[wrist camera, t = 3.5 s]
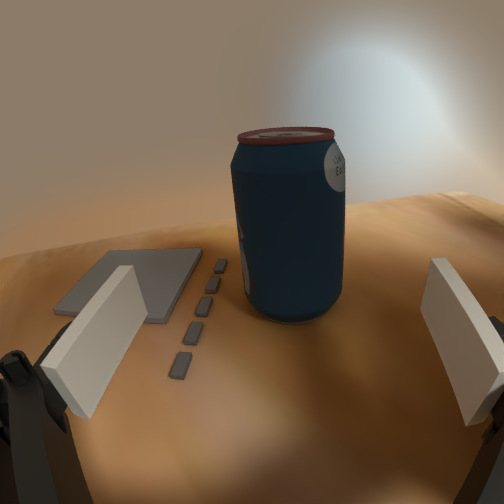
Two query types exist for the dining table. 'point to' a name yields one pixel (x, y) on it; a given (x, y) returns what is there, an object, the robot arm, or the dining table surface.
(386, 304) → the dining table surface
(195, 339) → the perforation line
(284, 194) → the soda can
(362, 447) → the dining table surface
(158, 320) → the slate pad
